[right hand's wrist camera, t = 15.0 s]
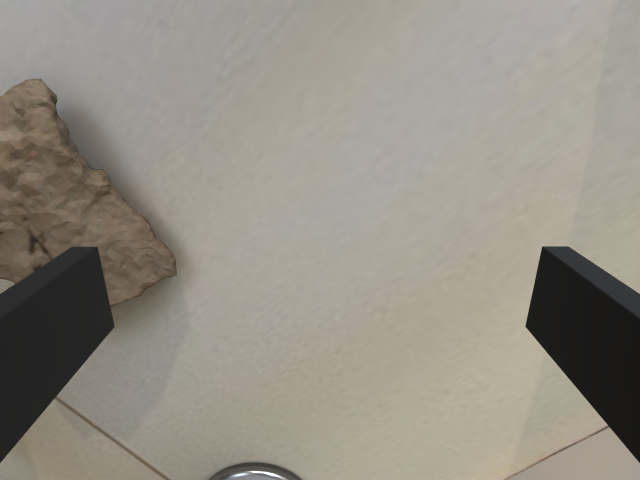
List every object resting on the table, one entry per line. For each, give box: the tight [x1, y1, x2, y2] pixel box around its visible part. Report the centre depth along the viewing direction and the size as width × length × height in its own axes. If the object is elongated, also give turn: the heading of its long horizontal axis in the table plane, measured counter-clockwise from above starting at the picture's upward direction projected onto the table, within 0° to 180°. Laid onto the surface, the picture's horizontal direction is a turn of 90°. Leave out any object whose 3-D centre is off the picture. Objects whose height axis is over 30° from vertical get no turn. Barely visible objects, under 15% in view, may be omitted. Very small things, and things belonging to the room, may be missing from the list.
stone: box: [0, 79, 177, 307], centre depth 38 cm, size 21×15×6 cm
